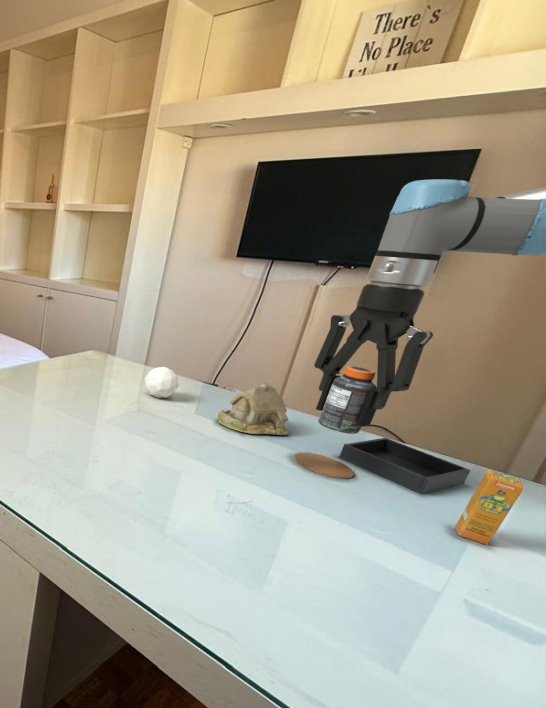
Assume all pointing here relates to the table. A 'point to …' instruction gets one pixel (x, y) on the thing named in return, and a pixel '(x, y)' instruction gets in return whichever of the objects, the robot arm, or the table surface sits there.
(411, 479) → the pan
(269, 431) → the ceramic model
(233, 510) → the table surface
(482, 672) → the table surface
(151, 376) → the geometric ball
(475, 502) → the supplement box
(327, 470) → the coaster
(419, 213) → the robot arm
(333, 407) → the pill bottle
